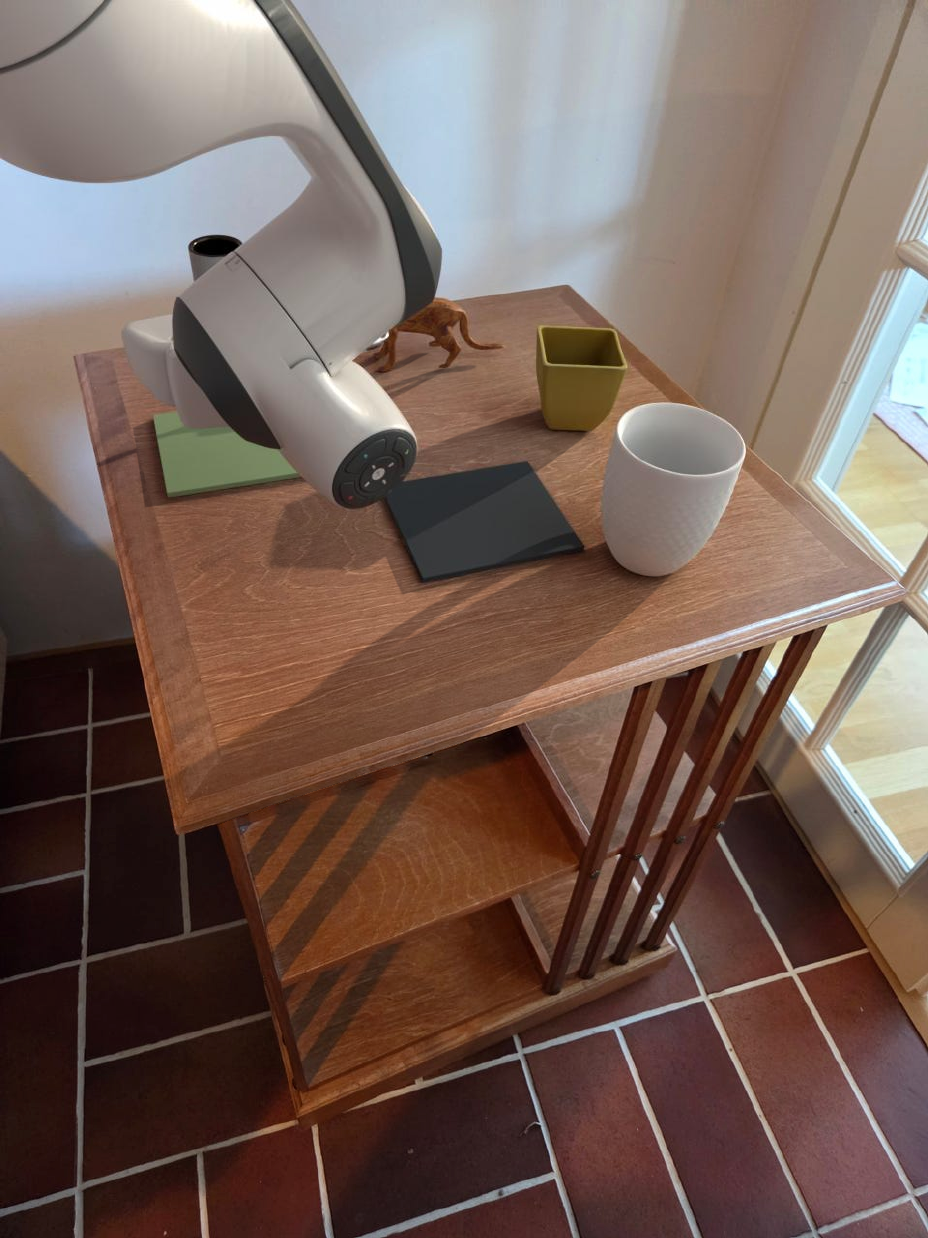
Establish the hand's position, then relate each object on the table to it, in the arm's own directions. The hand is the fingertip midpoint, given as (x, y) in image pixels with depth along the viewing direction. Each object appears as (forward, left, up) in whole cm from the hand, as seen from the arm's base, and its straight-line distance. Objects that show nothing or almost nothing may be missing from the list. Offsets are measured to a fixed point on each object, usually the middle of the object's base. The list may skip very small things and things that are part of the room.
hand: (219, 296), depth 74 cm
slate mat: (+20, -16, -17) cm, 31 cm away
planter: (0, -1, -6) cm, 6 cm away
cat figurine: (+25, +14, -17) cm, 33 cm away
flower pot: (+36, -2, -17) cm, 40 cm away
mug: (+34, -24, -17) cm, 45 cm away
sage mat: (0, +2, -17) cm, 17 cm away
